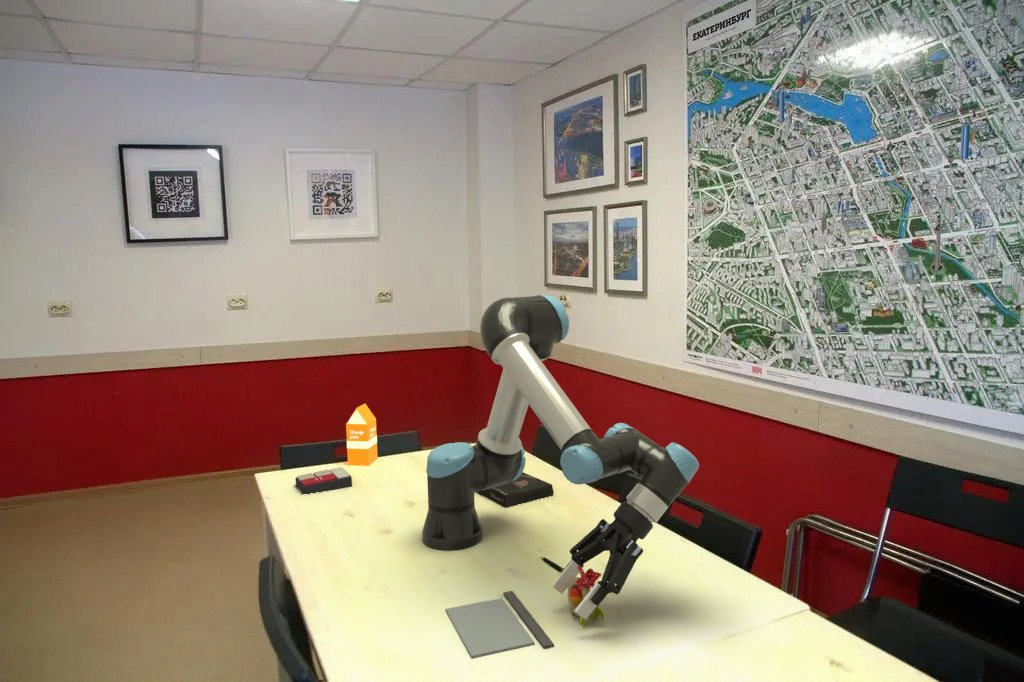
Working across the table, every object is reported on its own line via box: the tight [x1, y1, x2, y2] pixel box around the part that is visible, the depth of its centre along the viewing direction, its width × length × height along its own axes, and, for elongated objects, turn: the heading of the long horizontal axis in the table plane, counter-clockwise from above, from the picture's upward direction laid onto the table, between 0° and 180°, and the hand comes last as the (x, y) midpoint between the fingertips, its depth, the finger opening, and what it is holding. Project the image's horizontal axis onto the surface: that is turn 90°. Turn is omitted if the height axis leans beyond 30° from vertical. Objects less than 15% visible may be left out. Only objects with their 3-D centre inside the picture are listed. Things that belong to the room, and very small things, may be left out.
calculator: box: [294, 466, 353, 495], centre depth 219 cm, size 11×4×15 cm
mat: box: [445, 590, 555, 659], centre depth 135 cm, size 22×15×1 cm
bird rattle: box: [567, 565, 606, 627], centre depth 136 cm, size 6×11×9 cm
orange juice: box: [345, 403, 378, 467], centre depth 244 cm, size 8×9×20 cm
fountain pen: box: [540, 556, 565, 574], centre depth 159 cm, size 14×1×2 cm, turn 31°
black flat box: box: [475, 471, 555, 509], centre depth 209 cm, size 16×17×4 cm
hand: (567, 602), depth 135 cm, fingers open, 10 cm apart
